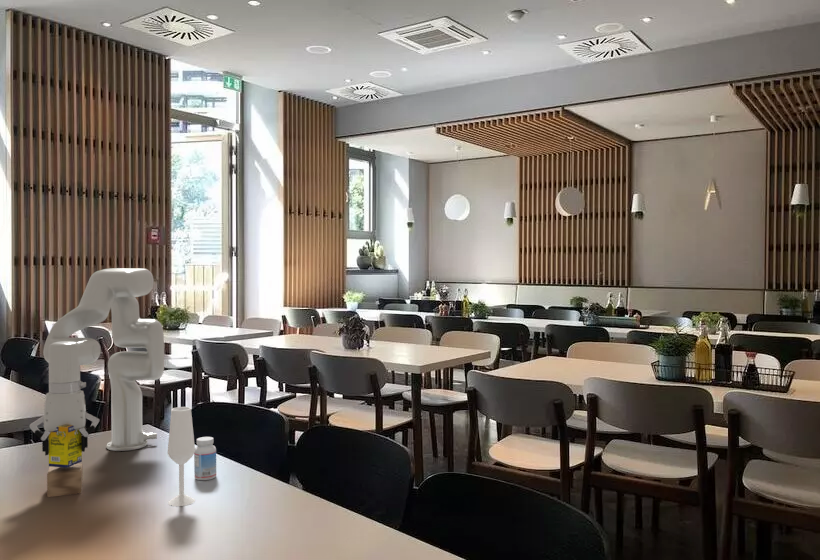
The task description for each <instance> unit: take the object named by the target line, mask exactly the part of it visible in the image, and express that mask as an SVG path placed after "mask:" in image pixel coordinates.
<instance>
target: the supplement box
mask: <svg viewBox="0 0 820 560" xmlns="http://www.w3.org/2000/svg"><path fill="white" fill-rule="evenodd" d="M48 438H49V454H48V467H50V466H51V467H64V468H68V467H70V466H72V465H74V464H80V463H82V461H83V456H82V455H83V453H82V433H81V432H80V431H79V429H77V430H75V429H74V426H73V425H71V426H57V427H56V430H55V431H53V432H50V434H49V435H48Z"/></svg>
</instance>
